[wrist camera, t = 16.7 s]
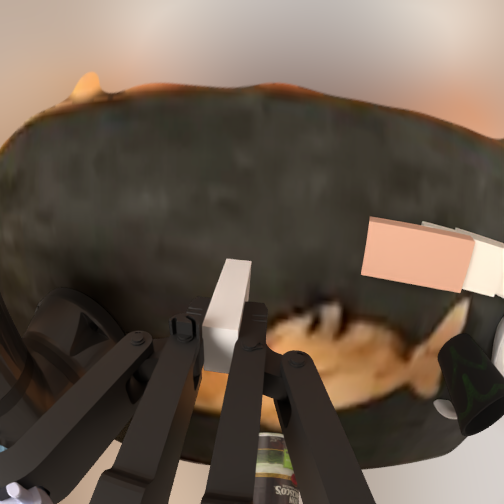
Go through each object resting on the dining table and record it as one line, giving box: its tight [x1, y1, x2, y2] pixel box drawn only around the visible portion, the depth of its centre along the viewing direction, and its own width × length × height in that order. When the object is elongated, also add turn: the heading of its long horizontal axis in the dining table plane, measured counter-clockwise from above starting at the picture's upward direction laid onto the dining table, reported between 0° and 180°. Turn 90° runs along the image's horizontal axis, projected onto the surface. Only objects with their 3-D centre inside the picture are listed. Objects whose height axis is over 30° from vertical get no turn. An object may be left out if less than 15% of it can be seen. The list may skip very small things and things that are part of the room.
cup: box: [438, 334, 504, 436], centre depth 24 cm, size 8×8×12 cm
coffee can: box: [253, 433, 299, 504], centre depth 34 cm, size 10×10×14 cm
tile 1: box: [421, 221, 504, 297], centre depth 22 cm, size 2×5×10 cm
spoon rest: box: [434, 316, 504, 419], centre depth 26 cm, size 24×12×7 cm, turn 158°
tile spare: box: [361, 216, 475, 293], centre depth 22 cm, size 2×5×10 cm
